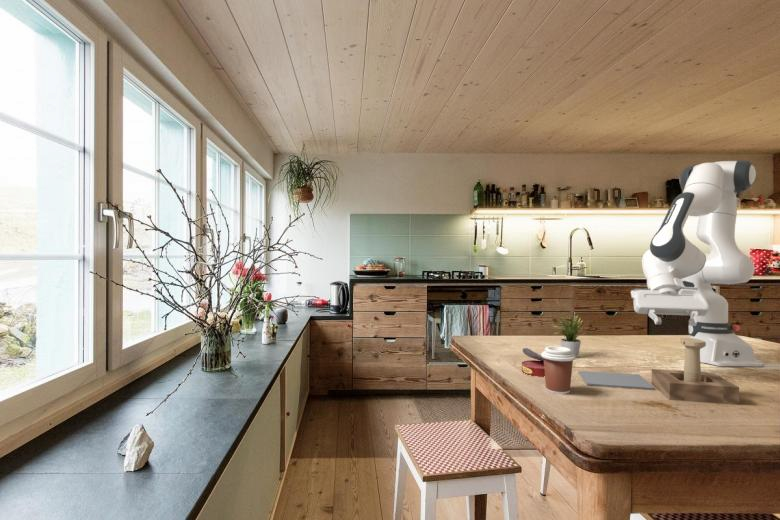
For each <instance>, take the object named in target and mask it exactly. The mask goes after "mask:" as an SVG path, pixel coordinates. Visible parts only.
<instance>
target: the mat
mask: <svg viewBox="0 0 780 520" xmlns="http://www.w3.org/2000/svg"><path fill="white" fill-rule="evenodd" d="M578 374H579V376H580V375H581V376H580V377H581V379H582V378H583V379H582V380H583V381H585V382H584V383H585V385H586V384H587V385H593V386H592V387H602V386H608V387H607V388H617V387H624V388H623V389H632V388H636V389H637V390H646V391H647V390H649V391H655V390H656V388H655V387H654V386H653V385H652V383H650V382H648V381H647V380H646V379H645V378H644V377H643V376H642V375H641V374H640V373H639V374H636V373H622V372H621V373H620V372H619V373H617V372H605V371H604V372H603V371H586V370H578ZM587 385H586V386H587ZM636 389H635V390H636Z"/></svg>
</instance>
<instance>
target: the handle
mask: <svg viewBox="0 0 780 520" xmlns="http://www.w3.org/2000/svg"><path fill="white" fill-rule="evenodd" d="M680 344H681V345H682V346H684V347H685V348H684V350H685V355H684V363H683V364H684V367H683V371H684V381H695V382H701V372H702V369H701V368H702V367H701V362H700V349H701V348H703V347H705V346H706V342H705V341H703V340H699V339H694V338H689V337H681V338H680Z"/></svg>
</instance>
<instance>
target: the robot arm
mask: <svg viewBox="0 0 780 520" xmlns="http://www.w3.org/2000/svg"><path fill="white" fill-rule="evenodd" d="M756 175H757V172H756V167H755V165H754V163H752V161H749V160H744V159H738V160H723V161H721V160H720V161H715V162H703V163H699V164H692V165H689V166H686V167H684V168H683V170H682V171H681V173H680V176H679V185H680V189H681V190H682V193H680V194H678V195H677V196H676V197H675V198H674V199H673V201H672V203H671V205H670V206H669V208H668V210H667V213H666V215H665V217H664V218H663V220H662V223H661V225H660V227H659V229H658V230H657V231H656V233H655V234H654V235H653V237H652V238H651V240H650V243H649V249H647V250H646V251H645V252H644V253H643V255H642V257H641V267H642V273H643V276H644V278H645V279H646V286H647V288H639V287H638V288H634V289H631V290H630V296H631V297H630V298H631V299H632V300H633V309H634V312H636V313H637V314H638V315H640V314H641V315H648V317H649V318H651V319H652V321H654V322H653V323H654V324H655V325H662V322H663V320H662V317H661V316H658V315H664V316H666V315H668V316H671V315H672V316H690V318H689V319H688V335H689V336H688V338H694V339H699V340H703V341H705V342H706V346H705V347H703V348H701V349H700V363H703V364H708V365H709V364H710V365H713V366H718V367H758V368H759V367H764V363H763V361H761V360H759V359H757V358H756V355H755V350H754V348H753V346H752V345H751V344H750V343H748V342H747V341H745V340H744V339H743V338H741V337H740V336H738V335H737V334H735V333H734V331H736V332H738V331H740V330H741V328H740V325H737V324H732V323H730V322H729V302H728V301H727V299H726V298H725V297H724V296H723V295H721V294H718V293H717V292H715V291H714V290H713V288H712V285H711V284H719V285H721V284H722V285H736V284H745V283H748V282H749V281H750V280H751V279H752V278H753V275H754V274H755V263H754V262H753V259H751V258H750V257H749V256H748V255H747V254H745V253H744V252H742V250H740V248H739V246H738V245H737V242H736V238H735V237H736V235H735V234H736V233H735V232H736V223H737V222H736V221H737V214H738V213H737V212H738V198H737V196H738V197H740V196H741V195H743V193H745V192H746V191H748V190H749V189H750V188H751V187H752V186H753V185H754V181H755V180H756ZM689 217H698V221H697V227H696V237H697V238H698V239H699V241H700V242H702V243H704V244H706V245H708V246H710V248H711V250H710V252H703V251H702V250H701V249H700V248H699V247H698V246H696V245H695V244H694V243H693V242H692V241H691V240H689V239H688V238H687V236H686V235H685V234H684V231H683V230H684V227H685V225H686V223H687V220H688V218H689Z"/></svg>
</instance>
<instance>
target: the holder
mask: <svg viewBox="0 0 780 520" xmlns="http://www.w3.org/2000/svg"><path fill="white" fill-rule="evenodd" d="M651 385H652V386H653V387H654V388H655V389H657V390H658V391H659V392H660V393H661V394H662V395H664V396H665V397H666V398H667V399H668V400H669V401H684V402H685V401H686V402H699V403H709V404H710V403H712V404H713V403H714V404H726V405H740V387H739V386H737V385H736V384H734V383H732V382H731V381H729V380H727V379H725V378H724V377H722V376H720V375H718V374H716V373H715V372H708V371H701V382H695V381H684V370H671V369H655V368H654V369H652V368H651Z"/></svg>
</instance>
